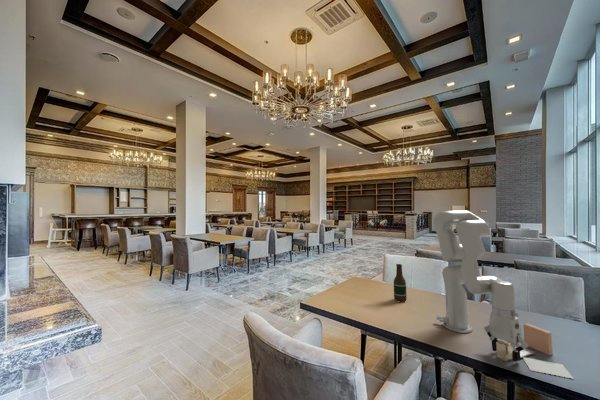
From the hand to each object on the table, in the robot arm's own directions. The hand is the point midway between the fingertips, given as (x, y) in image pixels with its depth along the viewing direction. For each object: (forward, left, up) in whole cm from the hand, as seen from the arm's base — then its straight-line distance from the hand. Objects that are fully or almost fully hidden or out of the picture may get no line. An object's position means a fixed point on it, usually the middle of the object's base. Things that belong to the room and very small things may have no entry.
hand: (505, 355), depth 104 cm
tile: (+14, +13, -1) cm, 19 cm away
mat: (+12, -2, -1) cm, 12 cm away
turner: (+4, +4, -1) cm, 5 cm away
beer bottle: (-45, +50, -1) cm, 67 cm away
